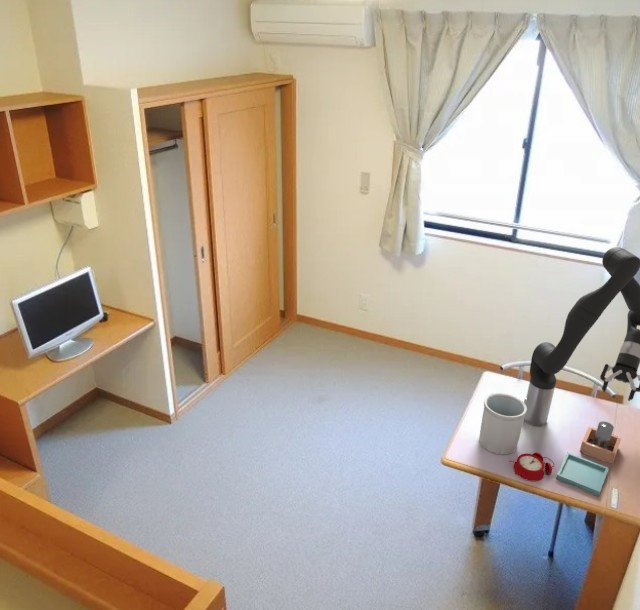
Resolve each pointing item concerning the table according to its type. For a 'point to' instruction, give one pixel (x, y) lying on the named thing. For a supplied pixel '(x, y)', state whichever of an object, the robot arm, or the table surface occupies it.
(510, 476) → the table surface
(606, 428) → the canister
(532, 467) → the alarm clock
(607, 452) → the light orange open box
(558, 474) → the teal tray
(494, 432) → the utensil holder
